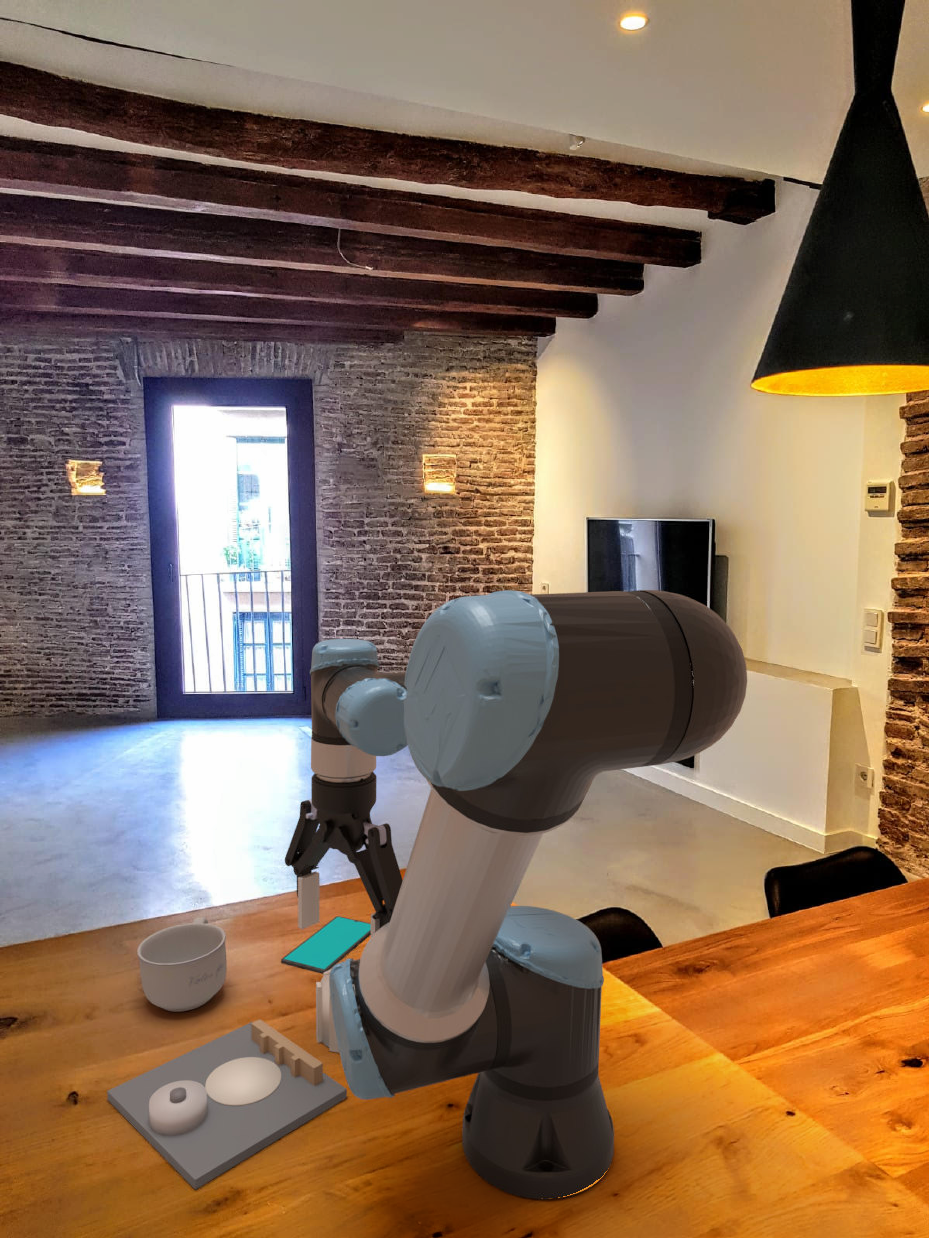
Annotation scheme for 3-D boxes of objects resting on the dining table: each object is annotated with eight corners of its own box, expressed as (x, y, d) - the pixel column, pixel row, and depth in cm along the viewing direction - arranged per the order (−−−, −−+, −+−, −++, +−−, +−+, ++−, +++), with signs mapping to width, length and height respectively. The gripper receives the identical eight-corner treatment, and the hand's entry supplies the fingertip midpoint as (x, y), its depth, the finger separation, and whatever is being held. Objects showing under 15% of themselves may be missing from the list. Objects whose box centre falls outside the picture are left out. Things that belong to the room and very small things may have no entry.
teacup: (201, 1027, 106) (200, 965, 105) (121, 1016, 108) (119, 955, 107) (251, 970, 120) (250, 914, 119) (179, 961, 122) (178, 906, 121)
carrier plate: (346, 1097, 94) (346, 1066, 93) (195, 1189, 81) (194, 1153, 80) (252, 1029, 106) (252, 1001, 106) (107, 1099, 93) (106, 1068, 92)
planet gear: (382, 1035, 105) (382, 979, 104) (341, 1058, 100) (341, 1000, 100) (347, 1014, 109) (347, 959, 109) (306, 1035, 105) (306, 978, 104)
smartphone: (279, 959, 122) (337, 915, 136) (280, 965, 122) (337, 920, 136) (324, 971, 119) (378, 925, 133) (324, 977, 119) (378, 930, 133)
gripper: (443, 790, 96) (439, 971, 98) (305, 744, 112) (305, 900, 115) (392, 806, 90) (390, 998, 93) (255, 756, 107) (257, 919, 110)
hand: (343, 944), depth 104 cm, fingers open, 13 cm apart
